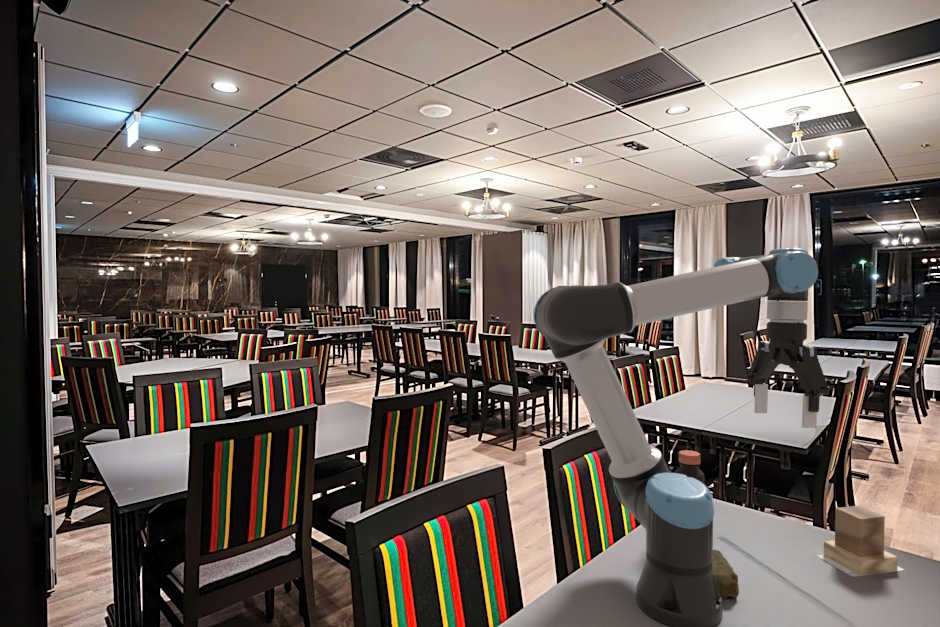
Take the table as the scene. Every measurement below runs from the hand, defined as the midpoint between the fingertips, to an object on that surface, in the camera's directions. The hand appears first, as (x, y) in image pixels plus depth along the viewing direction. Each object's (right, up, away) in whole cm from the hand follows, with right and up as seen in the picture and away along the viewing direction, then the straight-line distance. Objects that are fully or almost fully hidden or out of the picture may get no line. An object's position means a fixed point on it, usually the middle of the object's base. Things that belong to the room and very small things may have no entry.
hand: (783, 419), depth 115 cm
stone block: (-18, -32, -7) cm, 38 cm away
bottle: (-14, -31, +16) cm, 38 cm away
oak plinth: (+16, -31, -1) cm, 34 cm away
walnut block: (+16, -28, -1) cm, 32 cm away
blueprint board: (+16, -32, -1) cm, 35 cm away
